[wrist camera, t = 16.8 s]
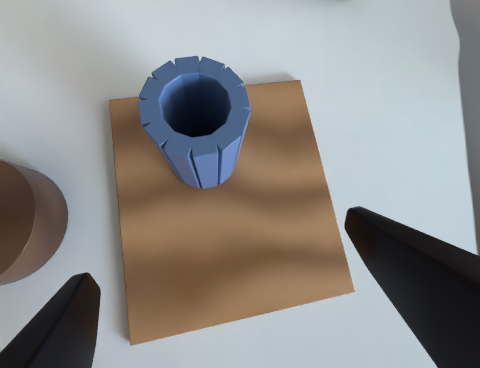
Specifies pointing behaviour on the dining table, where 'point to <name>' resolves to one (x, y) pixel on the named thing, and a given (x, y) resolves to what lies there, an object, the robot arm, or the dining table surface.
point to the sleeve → (196, 118)
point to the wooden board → (227, 223)
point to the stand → (28, 221)
